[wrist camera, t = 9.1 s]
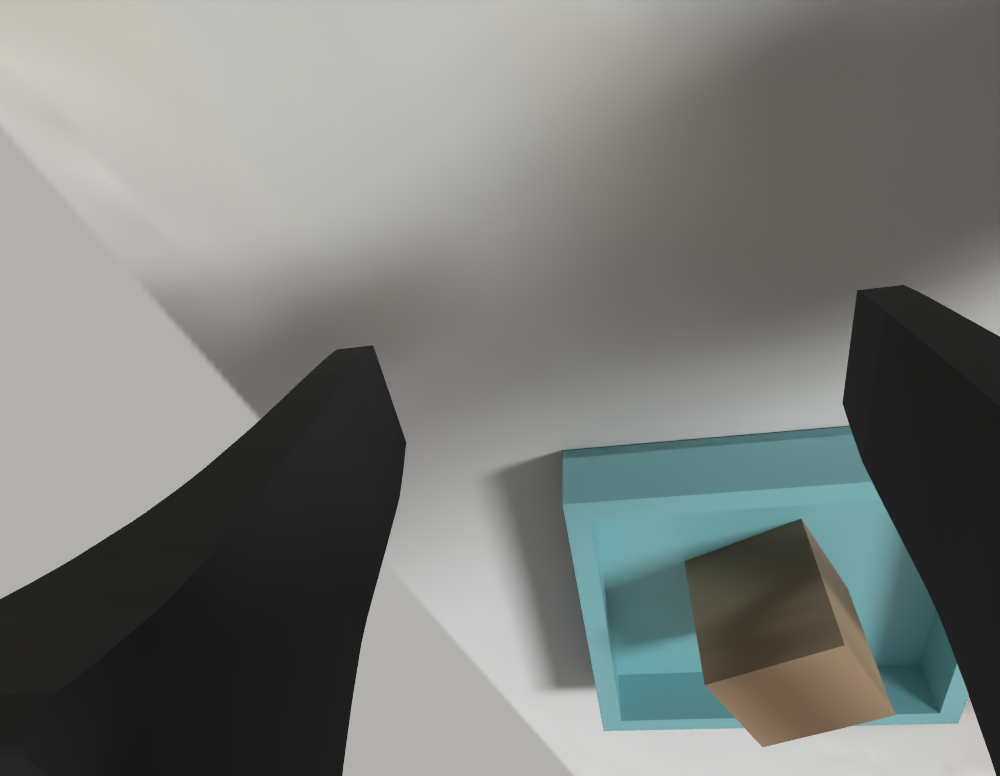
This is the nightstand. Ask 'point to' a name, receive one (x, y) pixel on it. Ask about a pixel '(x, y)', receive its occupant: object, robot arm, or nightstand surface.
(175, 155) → the nightstand surface
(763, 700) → the walnut block
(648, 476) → the teal tray
